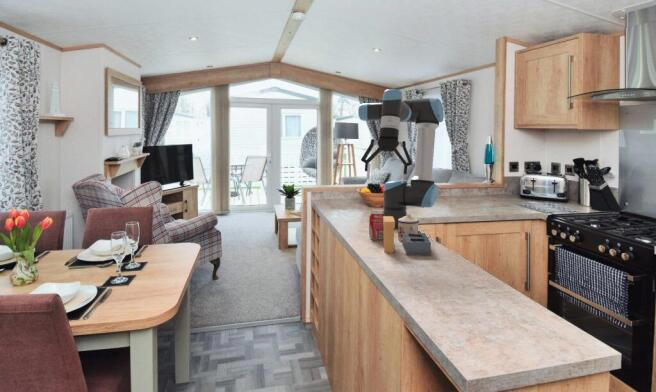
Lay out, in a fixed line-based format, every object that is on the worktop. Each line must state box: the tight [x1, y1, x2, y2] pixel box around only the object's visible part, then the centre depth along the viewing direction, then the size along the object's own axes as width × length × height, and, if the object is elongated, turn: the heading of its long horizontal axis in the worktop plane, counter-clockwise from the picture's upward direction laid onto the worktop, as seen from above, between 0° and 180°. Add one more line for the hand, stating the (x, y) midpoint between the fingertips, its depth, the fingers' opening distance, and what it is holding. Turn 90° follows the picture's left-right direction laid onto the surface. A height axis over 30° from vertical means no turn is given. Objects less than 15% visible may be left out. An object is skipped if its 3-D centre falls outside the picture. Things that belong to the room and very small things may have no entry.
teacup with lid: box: [397, 213, 420, 242], centre depth 193 cm, size 12×9×12 cm
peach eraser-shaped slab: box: [382, 216, 396, 254], centre depth 178 cm, size 4×12×12 cm, turn 176°
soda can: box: [368, 211, 385, 241], centre depth 196 cm, size 7×7×12 cm
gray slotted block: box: [401, 232, 432, 257], centre depth 177 cm, size 9×17×5 cm, turn 175°
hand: (384, 181), depth 176 cm, fingers open, 13 cm apart
